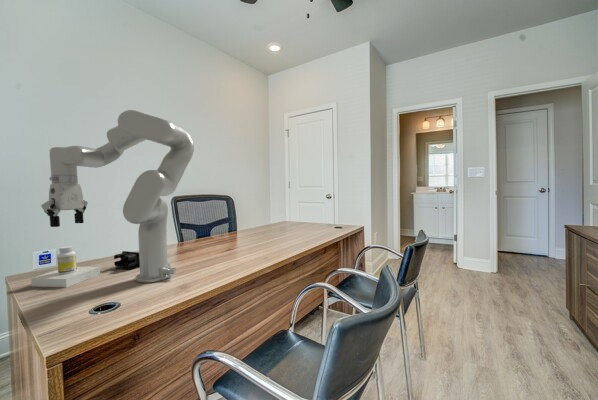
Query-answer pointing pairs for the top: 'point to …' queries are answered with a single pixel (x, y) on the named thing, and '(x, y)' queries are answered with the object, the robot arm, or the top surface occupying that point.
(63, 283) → the base plate
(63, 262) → the supplement bottle
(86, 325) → the top surface
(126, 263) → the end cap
